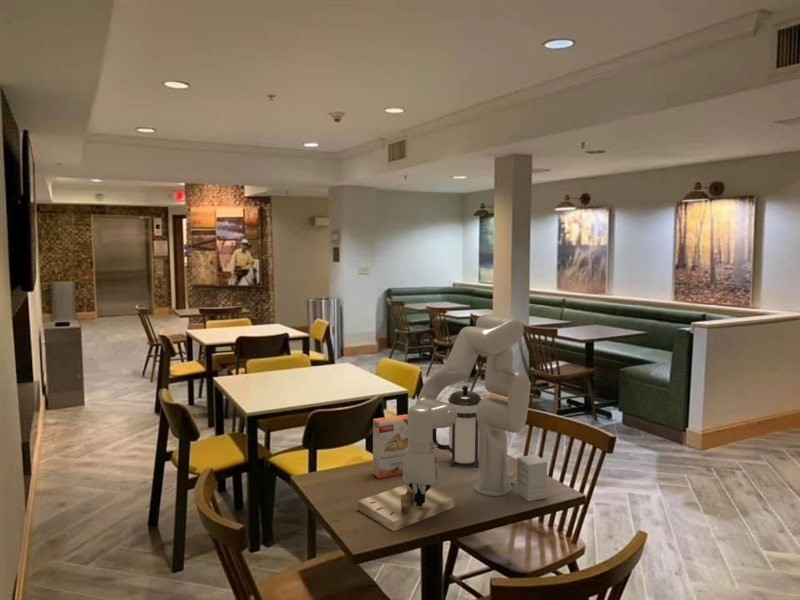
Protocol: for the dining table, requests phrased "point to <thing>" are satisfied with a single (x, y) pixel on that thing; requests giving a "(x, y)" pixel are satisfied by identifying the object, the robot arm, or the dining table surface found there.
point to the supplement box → (532, 477)
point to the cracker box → (389, 445)
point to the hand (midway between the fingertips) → (419, 504)
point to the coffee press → (463, 429)
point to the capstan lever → (408, 499)
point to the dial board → (389, 507)
